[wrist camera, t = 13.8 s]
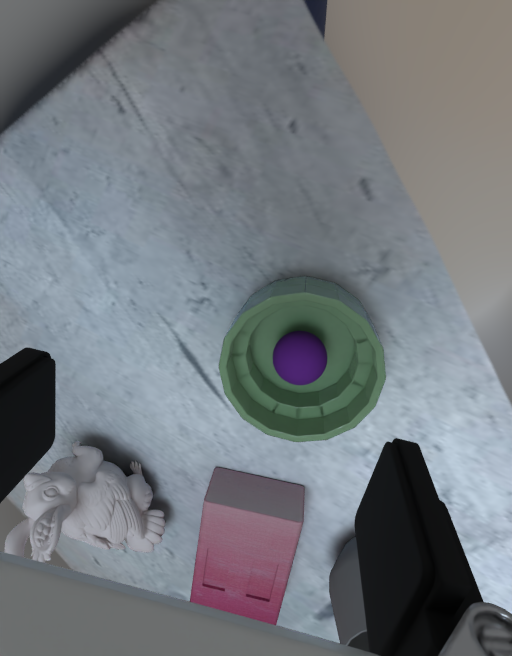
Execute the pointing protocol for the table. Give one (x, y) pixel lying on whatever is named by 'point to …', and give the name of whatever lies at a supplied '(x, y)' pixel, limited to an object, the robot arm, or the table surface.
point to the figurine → (86, 507)
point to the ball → (300, 357)
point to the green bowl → (330, 388)
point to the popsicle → (247, 544)
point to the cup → (348, 598)
